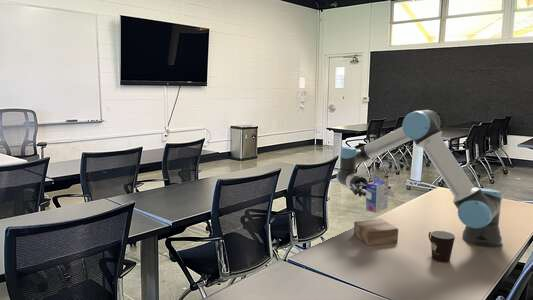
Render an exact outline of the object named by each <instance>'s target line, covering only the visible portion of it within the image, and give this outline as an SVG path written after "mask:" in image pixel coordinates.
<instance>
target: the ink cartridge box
mask: <svg viewBox="0 0 533 300" xmlns="http://www.w3.org/2000/svg"><path fill="white" fill-rule="evenodd" d="M372 180H373V181H371V182H369V183H368V184H367V189H366V191H368V192H370V193H372V197H371V199H368V198H366V197H365V201H366V202H365V211H367V212H371V213H375V214H377V213H379V212H382V211H383V210H386V209H388V199H389V195H388V186H389V181H386V180H381V179H379V177H378V175H377V176H373V177H372Z"/></svg>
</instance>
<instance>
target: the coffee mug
mask: <svg viewBox="0 0 533 300" xmlns="http://www.w3.org/2000/svg"><path fill="white" fill-rule="evenodd" d="M455 237H456V236H455V234H453V232H452V233H451V232H449V231H447V230H432V231H430V232H428V239H429V241H430V245H431V247H430V248H431V259H432V260H434V261H435V262H438V263H444V264H446V263H449V262H450V261H451V257H452V251H453V247H454V242H455V240H456V239H455Z"/></svg>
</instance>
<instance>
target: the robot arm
mask: <svg viewBox="0 0 533 300" xmlns="http://www.w3.org/2000/svg"><path fill="white" fill-rule="evenodd" d="M440 127H441V119H440V116H439V115H438V113H437V112H435V111H434V110H431V109H422V110H414V111H412V112H409V113H408V114H407V115H406V116H405V117H404V118H403V120H402V124H401V127H398V128H397V129H394V130H393V131H391V132H389V133H387V134H384V135H382V136H380V137H379V138H376V139H375V140H373V141H371V142H368V143H367V144H365V145H363V146H360V147H359V148H356V147H354V146H343V147H342V148H341V149H340V169H339V170H338V171H337V173H336V180H337V182H339V183H340V184H341V185H343V186H345V187H348V188H349V190H350V191H351V192H352V193H353V194H354V195H355V196H357V195H358V197H362V196H363V198H364V197H365V199H366V198H368V199H371V197H372V193H370V192H368V191H366V189H367V184H368V183H370V182H369V181H368V180H367V179H366V177H364V176H361V175H359V174H357V173H356V171H357V169H356V168H357V167H356V166H357V165H358V164H361V163H366V162H367V161H370V160H371V159H373V158H375V157H377V156H379V155H383V154H384V153H386V152H388V151H390V150H393V149H395V148H397V147H398V146H401V145H403V144H405V143H407V142H410V141H413V142H414V144H415V145H416V147H420V148H422V150H423V151H424V153H425V154H426V155H427V157H428V159H429V160H430V162H431V163H432V165H433V166H434V168H435V169H436V170H437V172H438V175H439V176H440V177H441V179H442V180H443V182H444V183H445V184H446V186H447V188H448V189H449V191H450V192H451V194H452V195H453V201H452V202H453V204H454V205H455V207H456V209H457V216H458V219H459V220H460V221H461V223H462V224H463V225H465V227H464V229H463V231H462V239H463V240H464V241H466V242H467V243H470V244H473V245H477V246H481V247H488V248H489V247H490V248H491V247H495V248H496V247H499V246H501V245H502V244H503V243H502V242H503V238H502V236H501V230H500V226H499V223H500V214H501V207H502V206H501V204H502V200H503V198H502V197H503V196H502V192H501V191H499V190H496V189H490V188H484V187H483V188H482V187H476V186H474V185H473V183H472V182H471V180H470V179H469V177H468V176H467V174H466V172H465V171H464V169H463V167H462V166H461V165H460V163H459V162H458V160H456V157H455V156H454V154H453V153H452V152H451V150H450V149H449V147H448V145H447V144H446V142H445V141H444V139H443V138H442V134H443V131H442V130H441V128H440ZM388 197H391V198H394V199H395V197H396V191H395V190H393V189H392V188H391V186H389V185H388Z"/></svg>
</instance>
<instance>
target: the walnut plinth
mask: <svg viewBox="0 0 533 300" xmlns="http://www.w3.org/2000/svg"><path fill="white" fill-rule="evenodd" d="M353 223H354V224H353V235H354V236H355V237H357V238H358V239H359V240H361V241H362V242H363V243H365V244H366V245H367V246H373V245H374V246H375V245H383V244H391V243H398V242H399V241H398V239H399V228H397V227H396V226H395V225H393V224H391V223H389V222H387V221H386V220H384V219H382V218H379V219H370V220H369V219H368V220H361V221H360V220H357V221H354V222H353Z"/></svg>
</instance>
